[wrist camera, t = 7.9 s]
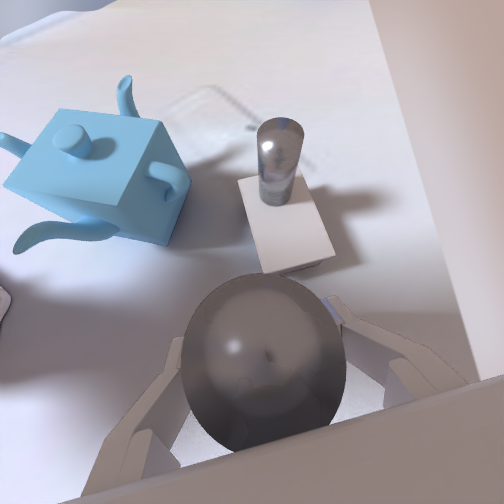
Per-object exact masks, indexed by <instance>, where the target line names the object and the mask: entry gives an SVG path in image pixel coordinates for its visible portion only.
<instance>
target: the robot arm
mask: <svg viewBox="0 0 504 504" xmlns="http://www.w3.org/2000/svg"><path fill="white" fill-rule="evenodd" d="M320 301H321V302H322V303H323V304H324V305H325V307H326V308H327V309H328V310H329V312H330V314H331V315H332V317H333V319H334V320H335V323H336V325H337V327H338V329H339V331H340V335H341V338H342V341H343V345H344V350H345V356H346V360H347V361H349V362H350V363H351V364H353V365H354V366H356V367H357V368H358V369H360V370H361V371H362V372H364V373H365V374H367V375H368V376H369V377H371V378H372V379H374V380H375V381H376V382H378V383H379V384H381V385H382V386H383V387H385V394H384V401H383V407H384V408H385V409H383V410H379V411H376V412H372V413H369V414H366V415H362V416H359V417H355V418H352V419H348V420H345V421H341V422H338V423H334V424H331V425H327V426H324V427H321V428H317V429H314V430H310V431H307V432H303V433H300V434H296V435H293V436H289V437H286V438H283V439H279V440H276V441H272V442H269V443H265V444H262V445H258V446H255V447H251V448H248V449H245V450H241V451H238V452H234V453H231V454H227V455H224V456H220V457H217V458H214V459H210V460H207V461H203V462H200V463H196V464H193V465H189V466H186V467H182V468H180V466H181V464H180V463H179V461H178V460H177V459H176V458H175V457H174V455H173V454H172V453H171V452H170V449H171V447H172V445H173V443H174V441H175V439H176V437H177V435H178V433H179V431H180V430H181V428H182V426H183V424H184V422H185V420H186V418H187V416H188V414H189V412H190V410H191V408H190V406H189V404H188V401H187V398H186V395H185V392H184V388H183V383H182V378H181V351H182V344H183V340H184V336H180V337H176V338H174V339H173V340H172V342H171V345H170V349H169V353H168V356H167V360H166V363H165V367H164V370H163V373H161V374H159V375H158V376H157V377H156V379H155V380H154V381H153V382H152V383H151V385H150V386H149V387H148V388H147V389H146V391H145V392H144V393H143V394H142V395H141V397H140V398H139V399H138V400H137V401H136V403H135V404H134V405H133V406H132V407H131V409H130V410H129V411H128V412H127V413H126V414H125V416H124V417H123V418H122V419H121V420H120V422H119V423H118V424H117V425H116V426H115V428H114V429H113V430H112V431H111V432H110V434H109V435H108V436H107V437H106V438H105V440H104V442H103V445H102V447H101V449H100V452H99V454H98V457H97V459H96V461H95V464H94V466H93V468H92V471H91V473H90V475H89V478H88V480H87V483H86V485H85V487H84V490H83V492H82V494H81V497H79V498H76V499H72V500H69V501H65V502H62V503H58V504H504V375H500V376H497V377H493V378H490V379H486V380H483V381H479V382H476V383H473V384H469V383H468V382H467V381H466V380H465V379H463V378H462V377H461V376H460V375H459V374H458V373H457V372H456V371H455V370H453V369H452V368H451V367H450V366H449V365H448V364H447V363H446V362H445V361H443V360H442V359H441V358H440V357H439V356H438V355H437V354H436V353H435V352H433V351H432V350H431V349H430V348H428V347H425V346H423V345H421V344H418V343H416V342H414V341H411V340H409V339H407V338H404V337H402V336H400V335H397V334H395V333H392V332H390V331H388V330H385V329H383V328H381V327H378V326H376V325H374V324H371V323H369V322H367V321H364V320H362V319H360V320H357V318H356V317H355V316H354V315H353V314H352V313H351V312H350V310H349V309H348V308H347V307H346V306H345V305H344V304H343V302H342V301H341V300H340V299H339V298H338V297H337V296H336V295H334V296H330V297H327V298H324V299H320ZM10 303H11V296H10V295H9V294H8V293H7V292H6V291H5V290H4V289H3V288H2V287H1V286H0V322H1V319H2V318H3V316H4V314H5V313H6V311H7V309H8V307H9V305H10Z"/></svg>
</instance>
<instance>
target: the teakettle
mask: <svg viewBox="0 0 504 504" xmlns="http://www.w3.org/2000/svg"><path fill="white" fill-rule="evenodd" d="M117 102H118V107H119V111H120V115H113V114H105V113H96V112H88V111H79V110H70V109H58V111H57V112H56V114H55V115H54V117H53V118H52V119H51V120H50V122H49V123H48V124H47V126H46V127H45V128H44V130H43V131H42V132H41V134H40V135H39V136H38V138H37V139H36V140H35V142H34V143H33V144H32V145H31V144H29V143H26V142H24V141H22V140H20V139H17V138H15V137H13V136H11V135H8V134H6V133H3V132H0V147H2V148H4V149H6V150H8V151H9V152H11V153H13V154H14V155H16V156H17V157H19V158H20V159H21V161H20V162H19V163H18V165H17V166H16V167H15V169H14V170H13V172H12V173H11V174H10V176H9V177H8V178H7V180H6V181H5V182H4V183H3V187H5V188H7V189H9V190H11V191H12V192H14V193H16V194H18V195H20V196H22V197H24V198H26V199H28V200H30V201H32V202H34V203H35V204H37V205H39V206H41V207H43V208H45V209H47V210H49V211H51V212H53V213H55V214H57V215H59V216H60V217H62V218H64V219H66V220H68V221H70V222H72V223H65V222H58V221H44V222H40V223H37V224H34V225H32V226H31V227H29V228H28V229H27V230H26V231H24V232H23V234H22V235H21V236H20V237H19V238H18V240H17V242H16V243H15V245H14V248H13V254H21V253H23V252H25V251H26V250H28V249H29V248H31V247H33V246H34V245H36V244H38V243H39V242H42V241H45V240H49V239H57V238H59V239H73V240H81V241H101V240H105V239H108V238H110V237H112V236H114V235H115V236H119V237H124V238H129V239H134V240H139V241H144V242H149V243H154V244H159V245H164V246H167V245H168V242H169V240H170V237H171V235H172V232H173V229H174V227H175V224H176V221H177V219H178V216H179V214H180V211H181V209H182V206H183V203H184V201H185V198H186V196H187V193H188V191H189V188H190V185H191V183H192V180H191V178H190V176H189V174H188V172H187V170H186V168H185V166H184V164H183V162H182V160H181V158H180V156H179V154H178V152H177V150H176V148H175V146H174V144H173V142H172V141H171V139H170V137H169V135H168V133H167V131H166V129H165V127H164V125H163V123H162V122H161V121H158V120H152V119H144V118H140V116H139V114H138V112H137V110H136V107H135V104H134V101H133V96H132V77H131V76H130V75H127V76H125V77H124V78H123V79H122V80H121V81H120V82H119V84H118V87H117Z"/></svg>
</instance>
